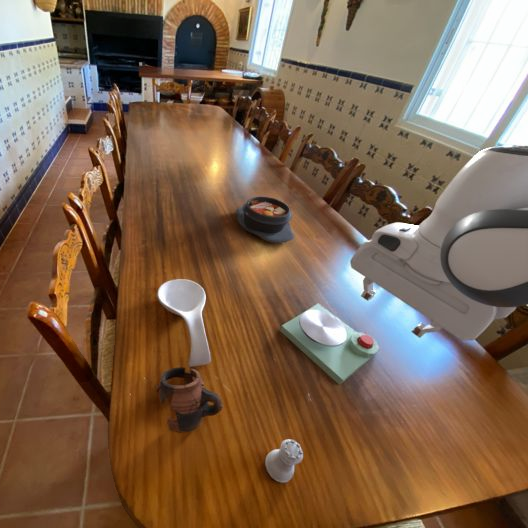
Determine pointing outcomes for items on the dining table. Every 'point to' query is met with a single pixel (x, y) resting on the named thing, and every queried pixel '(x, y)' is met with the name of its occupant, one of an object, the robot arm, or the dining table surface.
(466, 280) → the robot arm
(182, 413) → the pottery mug
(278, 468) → the rook chess piece
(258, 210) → the casserole
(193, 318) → the spoon rest
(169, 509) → the dining table surface
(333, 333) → the pan
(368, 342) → the tare button
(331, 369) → the scale
